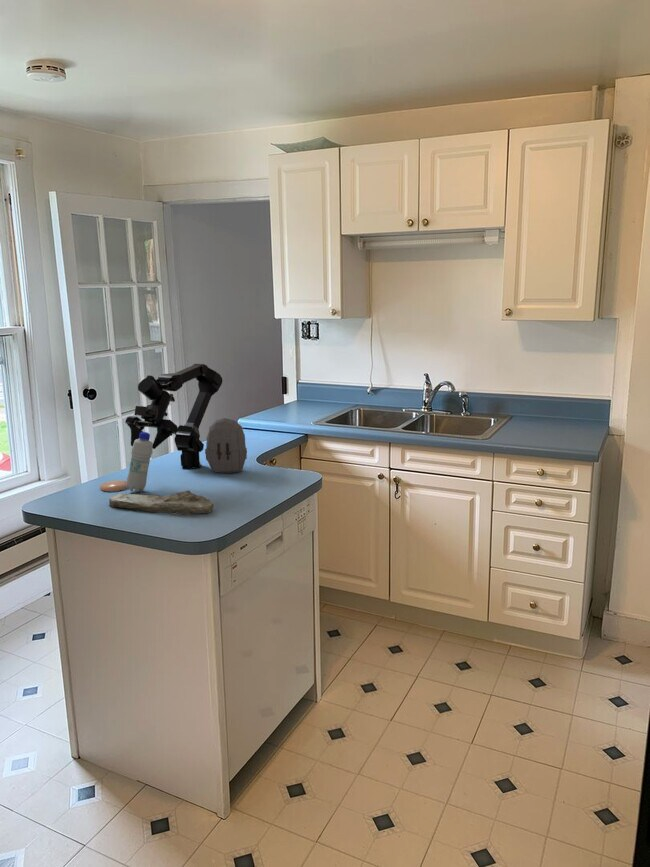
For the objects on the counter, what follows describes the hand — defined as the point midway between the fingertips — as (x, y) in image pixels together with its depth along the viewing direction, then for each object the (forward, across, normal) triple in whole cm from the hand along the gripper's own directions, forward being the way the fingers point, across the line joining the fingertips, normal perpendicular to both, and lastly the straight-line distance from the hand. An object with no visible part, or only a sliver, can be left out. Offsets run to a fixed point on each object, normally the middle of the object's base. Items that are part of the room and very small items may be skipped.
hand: (142, 447), depth 227 cm
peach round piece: (+14, -8, +4) cm, 17 cm away
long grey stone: (+21, +20, -4) cm, 30 cm away
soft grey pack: (-4, +17, +27) cm, 33 cm away
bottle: (+15, +2, +2) cm, 15 cm away
